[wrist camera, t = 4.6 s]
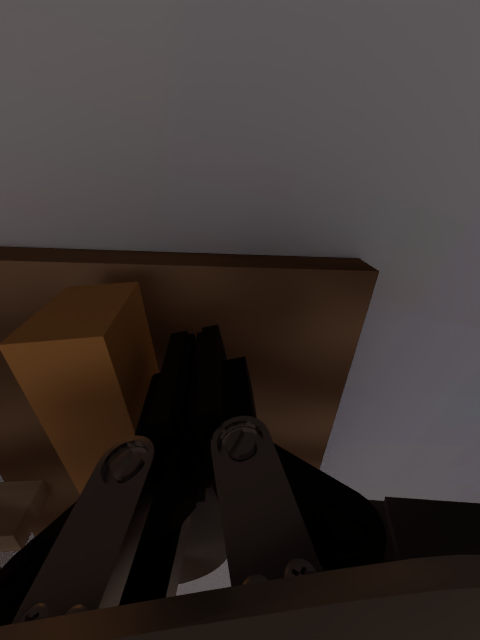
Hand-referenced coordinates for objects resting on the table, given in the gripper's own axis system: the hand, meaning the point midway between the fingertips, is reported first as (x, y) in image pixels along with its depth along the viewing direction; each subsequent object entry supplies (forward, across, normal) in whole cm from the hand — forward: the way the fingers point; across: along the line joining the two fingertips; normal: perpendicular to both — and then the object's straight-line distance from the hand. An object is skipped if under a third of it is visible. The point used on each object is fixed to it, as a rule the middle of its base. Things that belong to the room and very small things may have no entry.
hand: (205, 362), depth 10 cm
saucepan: (+1, +4, +4) cm, 6 cm away
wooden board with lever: (+5, +5, +9) cm, 11 cm away
